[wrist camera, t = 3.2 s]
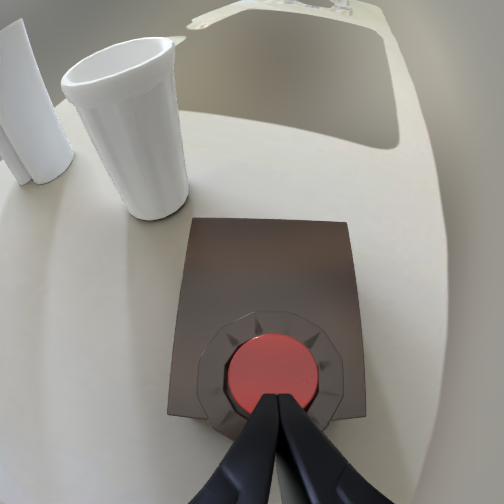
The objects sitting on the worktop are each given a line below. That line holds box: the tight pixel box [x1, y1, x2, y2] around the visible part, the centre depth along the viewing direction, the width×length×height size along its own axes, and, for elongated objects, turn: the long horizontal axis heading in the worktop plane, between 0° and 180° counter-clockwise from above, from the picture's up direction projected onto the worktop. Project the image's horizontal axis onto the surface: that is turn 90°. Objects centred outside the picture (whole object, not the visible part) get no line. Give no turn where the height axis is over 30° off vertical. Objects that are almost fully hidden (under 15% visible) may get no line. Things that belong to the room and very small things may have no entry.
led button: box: [228, 334, 319, 414], centre depth 12 cm, size 4×4×2 cm
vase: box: [0, 18, 74, 185], centre depth 22 cm, size 11×7×20 cm, turn 76°
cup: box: [61, 37, 189, 220], centre depth 21 cm, size 8×8×14 cm
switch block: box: [167, 218, 366, 441], centre depth 17 cm, size 13×10×7 cm
